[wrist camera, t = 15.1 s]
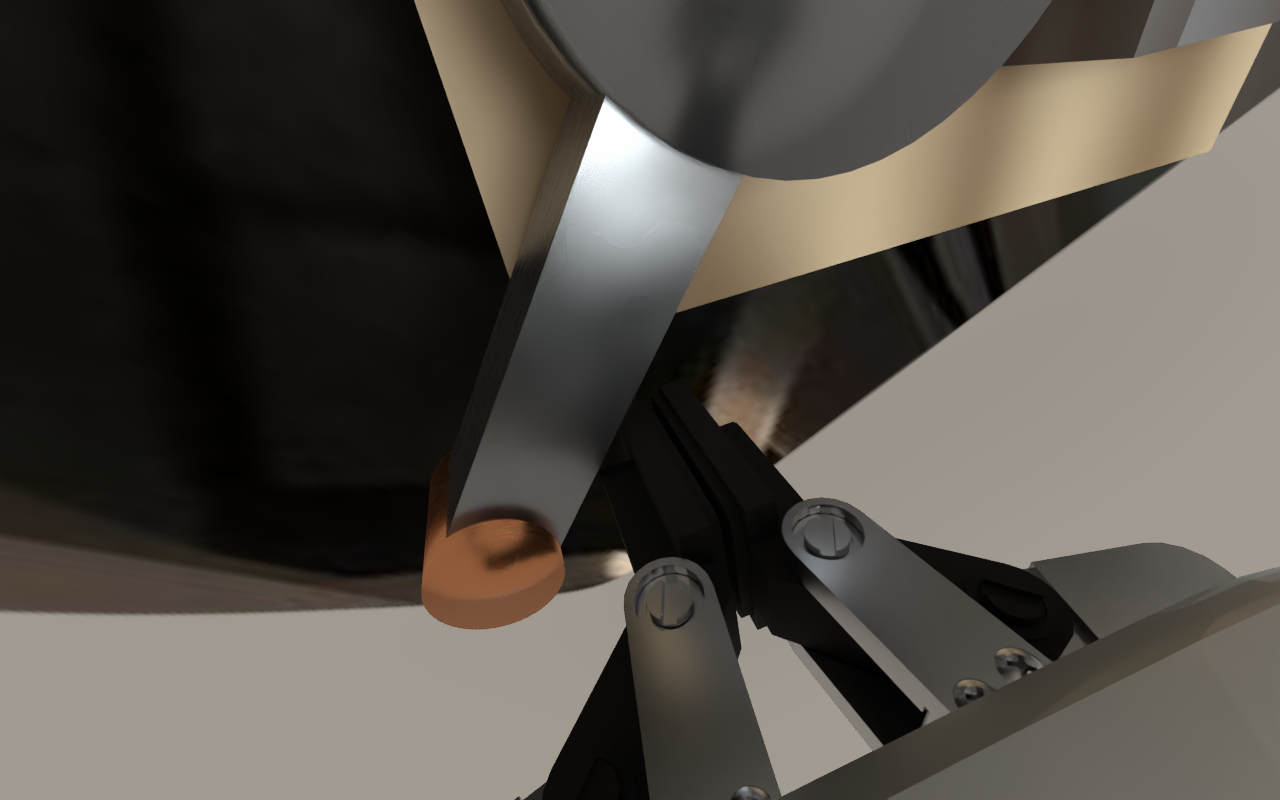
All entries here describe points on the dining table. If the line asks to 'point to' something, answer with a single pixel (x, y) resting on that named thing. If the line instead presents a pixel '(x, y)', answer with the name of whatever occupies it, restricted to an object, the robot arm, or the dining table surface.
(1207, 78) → the block
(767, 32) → the grey crank lever
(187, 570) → the dining table surface
